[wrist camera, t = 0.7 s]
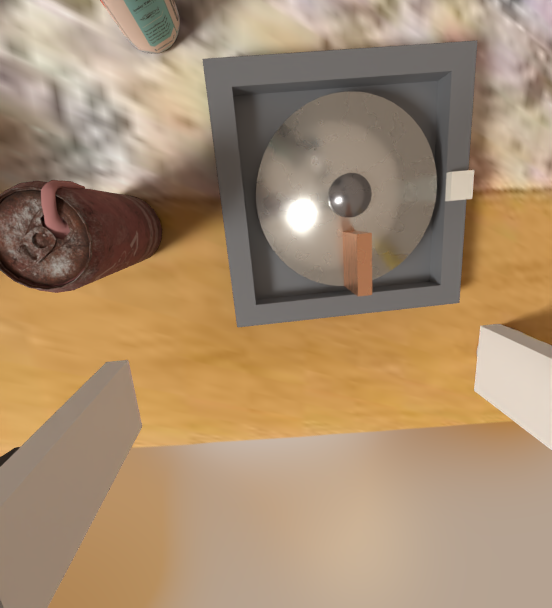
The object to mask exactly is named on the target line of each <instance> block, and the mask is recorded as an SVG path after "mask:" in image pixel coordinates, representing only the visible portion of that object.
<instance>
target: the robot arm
mask: <svg viewBox="0 0 552 608" xmlns="http://www.w3.org/2000/svg"><path fill="white" fill-rule="evenodd" d="M474 391H475V392H477V393H478V394H479V395H481V396H482V397H483V398H484V399H486V400H487V401H488V402H490V403H491V404H492V405H494V406H495V407H496V408H497V409H499V410H500V411H501V412H503V413H504V414H505V415H507V416H508V417H509V418H511V419H512V420H513V421H514V422H516V423H517V424H519V425H520V426H521V427H522V428H524V429H525V430H526V431H527V432H529V433H530V434H532V435H533V436H534V437H535V438H537V439H538V440H539V441H540V442H542V443H543V444H544V445H546V446H547V447H548V448H550V449H551V450H552V346H551V345H549V344H546V343H544V342H542V341H539V340H537V339H535V338H532V337H530V336H527V335H525V334H523V333H520V332H518V331H516V330H513V329H511V328H508V327H506V326H504V325H501V324H493V325H483V326H480V336H479V346H478V356H477V367H476V377H475V387H474ZM141 428H142V423H141V418H140V413H139V409H138V404H137V399H136V394H135V390H134V385H133V380H132V375H131V370H130V366H129V361H128V360H123V361H113V362H106V363H105V364H104V365H103V366H102V367H101V368H100V369H99V370H98V371H97V372H96V373H95V374H94V375H93V376H92V377H91V378H90V379H89V380H88V381H87V382H86V383H85V384H84V385H83V386H82V387H81V388H80V389H79V390H78V391H77V392H76V393H75V394H74V395H73V396H72V397H71V398H70V399H69V400H68V401H67V402H66V403H65V404H64V405H63V406H62V407H61V408H60V409H59V410H57V411H56V412H55V413H54V414H53V415H52V416H51V417H50V418H49V419H48V420H47V421H46V422H45V423H44V424H43V425H42V426H41V427H40V428H39V429H38V430H37V431H36V432H35V433H34V434H33V435H32V436H31V437H30V438H29V439H28V440H27V441H26V442H25V443H24V444H23V445H22V446H21V447H17V448H14V449H12V450H11V451H9V452H8V453H6V454H5V455H3V456H2V457H0V608H47V607H48V605H49V603H50V602H51V600H52V598H53V596H54V594H55V592H56V590H57V588H58V586H59V584H60V582H61V581H62V578H63V577H64V575H65V573H66V571H67V569H68V567H69V565H70V563H71V561H72V560H73V558H74V556H75V554H76V552H77V550H78V548H79V546H80V544H81V542H82V540H83V539H84V537H85V535H86V533H87V531H88V529H89V527H90V525H91V523H92V521H93V520H94V518H95V516H96V513H97V512H98V510H99V508H100V506H101V504H102V502H103V500H104V499H105V497H106V495H107V493H108V491H109V489H110V487H111V485H112V483H113V481H114V479H115V478H116V476H117V474H118V472H119V470H120V468H121V466H122V464H123V462H124V460H125V458H126V457H127V455H128V453H129V451H130V449H131V447H132V445H133V443H134V441H135V439H136V437H137V436H138V434H139V432H140V430H141Z"/></svg>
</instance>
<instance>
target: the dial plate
mask: <svg viewBox="0 0 552 608" xmlns="http://www.w3.org/2000/svg"><path fill="white" fill-rule="evenodd" d="M476 52H477V41H463V42H449V43H434V44H419V45H404V46H389V47H374V48H359V49H344V50H329V51H314V52H299V53H284V54H269V55H254V56H239V57H224V58H209V59H203V66H204V74H205V81H206V89H207V97H208V105H209V112H210V120H211V128H212V136H213V143H214V151H215V159H216V167H217V174H218V182H219V190H220V197H221V205H222V213H223V221H224V228H225V236H226V244H227V252H228V259H229V267H230V275H231V282H232V290H233V298H234V306H235V313H236V321H237V327H245V326H254V325H264V324H273V323H282V322H291V321H300V320H309V319H318V318H327V317H336V316H345V315H354V314H363V313H372V312H381V311H390V310H399V309H408V308H417V307H426V306H435V305H445V304H454V303H459V300H460V285H461V271H462V256H463V241H464V227H465V212H466V199H472V196H473V182H474V170H468V169H469V154H470V140H471V125H472V111H473V96H474V81H475V67H476ZM339 92H364V93H371V94H374V95H377V96H380V97H383V98H385V99H387V100H389V101H391V102H393V103H395V104H396V105H397V106H399V107H400V108H402V109H403V110H404V111H405V112H406V113H407V114H409V115H410V116H411V117H412V118H413V119H414V121H415V122H416V123H417V124H418V126H419V127H420V128H421V130H422V132H423V133H424V135H425V137H426V139H427V141H428V143H429V145H430V148H431V150H432V154H433V157H434V161H435V167H436V174H437V192H436V201H435V205H434V210H433V214H432V217H431V219H430V222H429V225H428V227H427V229H426V231H425V233H424V235H423V237H422V238H421V240H420V242H419V243H418V245H417V246H416V247H415V249H414V250H413V251H412V252H411V253H410V255H409V256H408V257H407V258H406V259H405V260H404V261H403V262H402V263H400V264H399V265H398V266H397V267H395V268H394V269H393V270H391V271H389V272H388V273H386V274H384V275H383V276H381V277H379V278H376V279H374V280H372V295H368V296H357V295H355V294H354V293H353V292H351V291H350V290H349V289H347V288H346V287H345V286H334V285H327V284H322V283H318V282H315V281H312V280H310V279H307V278H305V277H304V276H302V275H300V274H298V273H297V272H295V271H294V270H292V269H291V268H290V267H288V266H287V265H286V264H285V263H284V262H283V261H282V260H281V259H280V258H279V257H278V255H277V254H276V253H275V252H274V250H273V249H272V247H271V246H270V244H269V242H268V241H267V239H266V237H265V235H264V233H263V230H262V228H261V225H260V222H259V218H258V214H257V207H256V183H257V177H258V172H259V168H260V164H261V161H262V158H263V155H264V152H265V150H266V148H267V146H268V144H269V142H270V140H271V139H272V137H273V136H274V134H275V133H276V131H277V130H278V129H279V127H280V126H281V125H282V124H283V123H284V122H285V121H286V119H288V118H289V117H290V116H291V115H292V114H293V113H294V112H296V111H297V110H298V109H300V108H301V107H303V106H304V105H306V104H307V103H309V102H311V101H313V100H315V99H317V98H320V97H322V96H326V95H329V94H332V93H339Z"/></svg>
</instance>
